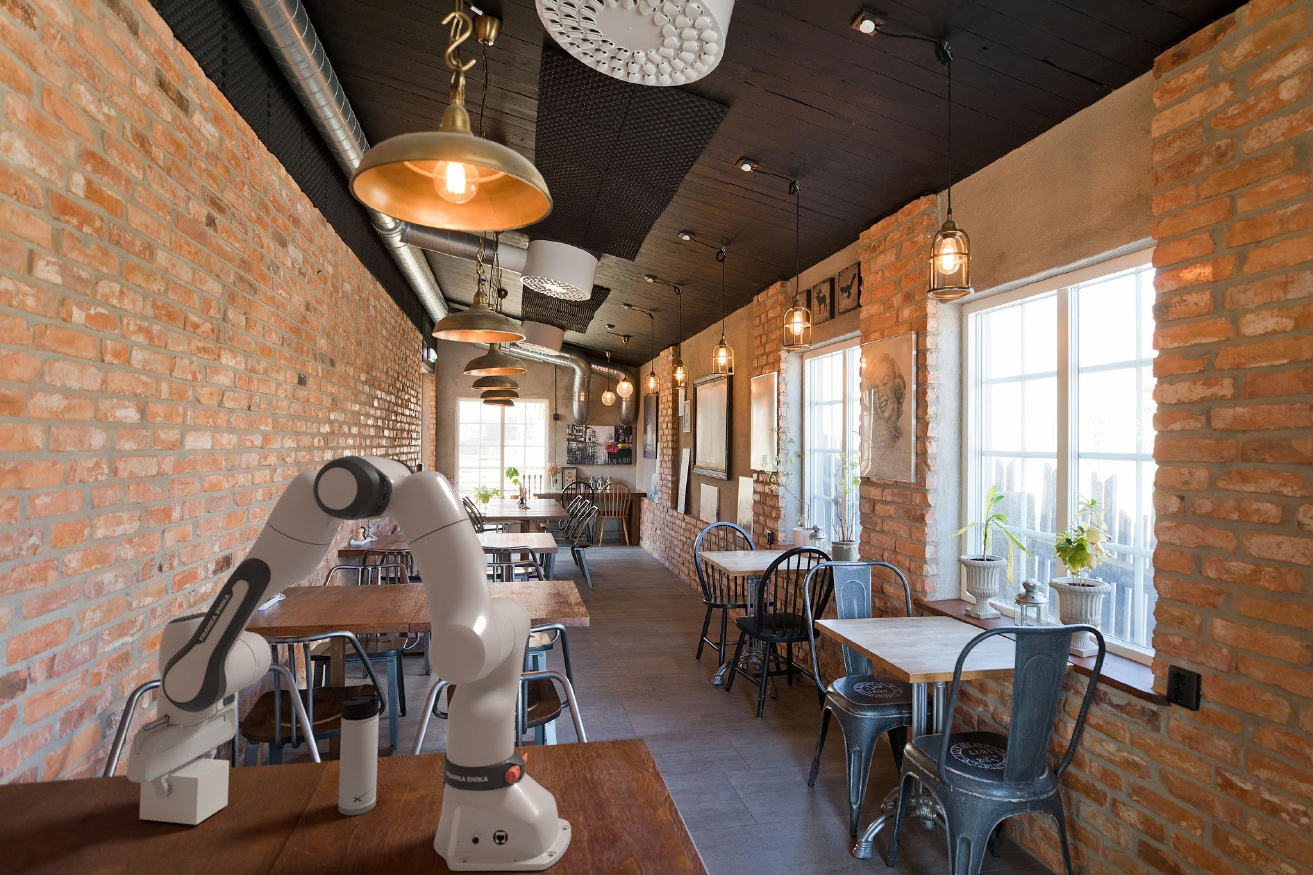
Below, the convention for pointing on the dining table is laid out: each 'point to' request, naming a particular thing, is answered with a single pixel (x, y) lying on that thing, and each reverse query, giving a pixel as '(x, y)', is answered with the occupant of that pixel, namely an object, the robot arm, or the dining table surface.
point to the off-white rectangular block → (188, 793)
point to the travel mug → (358, 754)
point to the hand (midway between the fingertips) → (184, 785)
